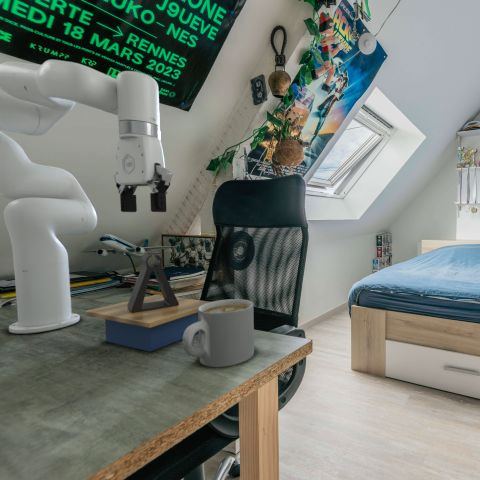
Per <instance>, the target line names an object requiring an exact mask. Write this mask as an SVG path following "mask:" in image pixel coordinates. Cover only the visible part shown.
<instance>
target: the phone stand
mask: <svg viewBox="0 0 480 480" xmlns="http://www.w3.org/2000/svg"><path fill="white" fill-rule="evenodd" d="M152 255H153V256H154V258H155V259H154V261H153V262H152V263H150V264H149V262H148V261H149V259H150V258H151V257H153V256H152ZM140 259H141V268H140V270H139V273H138V276H137V279H136V281H135V284H134V287H133V289H132V292H131V295H130V297H129V299H128V301H129V302H128V305H127V306H128V308H129V309H130V311H131V312H132V313H136V312H142V311H149V310H155V309H156V308H157V309H161V308H167V307H173V306H178V305H179V303H178V301H177V299H176V297H177V296H176V295H175V292H174V290H173V288H172V286H171V284H170V281H169V280H168V277H167V276H166V274H165V271H164V269H163V259H162V257H161V256H160V255H158V254H156V253H155V252H152V251H151V252H150V253H149V252H144V253H143V254H142V255H141V258H140ZM153 272H154V276H155V278H156V280H157V283H158V286H159V289H160V292H161V295H163V298H164V300H162V301H155V302H148V303H143V301H144V297H146V293H147V289H148V286H149V282H150V278H151V274H152V273H153Z"/></svg>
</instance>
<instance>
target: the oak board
mask: <svg viewBox="0 0 480 480" xmlns="http://www.w3.org/2000/svg"><path fill="white" fill-rule="evenodd" d="M176 299H177V301H178V303H179V305H178V306H173V307H167V308H161V309H157V308H156V309H155V310H149V311H142V312H136V313H132V312H131V311H130V309H129V308H128V306H127V305H128V302H129V300H127V301H122V302H119V303H118V302H117V303H115V304H110V305H105V306H102V307H101V306H100V307H96V308H94V309H89V310H85V317H91V318H97V319H101V320H105V319H106V320H112V321H117V322H122V323H127V324H132V325H138V326H143V327H148V328H151V327H154V326H157V325H160V324H163V323H166V322H169V321H172V320H175V319H178V318H181V317H185V316H188V315H191V314H194V313H197V312H198V308H199V307H200V306H202V305H204V304H206V303H210V302H211V301H209V300H208V301H206V300H201V299H192V298H185V297H178V296H176ZM162 300H164V298H163V295H162V294H153V295H149V296H145V297H144V301H143V303H148V302H155V301H162Z"/></svg>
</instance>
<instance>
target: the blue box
mask: <svg viewBox="0 0 480 480" xmlns="http://www.w3.org/2000/svg"><path fill="white" fill-rule="evenodd" d="M196 322H198V312H197V313H194V314H191V315H188V316H185V317H181V318H178V319H175V320H172V321H169V322H166V323H163V324H160V325H157V326H154V327H151V328H148V327H143V326H138V325H132V324H127V323H122V322H117V321H112V320H106V319H104V324H105V341H106V342H107V343H111V344H115V345H120V346H124V347H128V348H132V349H137V350H141V351H145V352H149V353H150V352H153V351H156V350H159V349H161V348H163V347H166V346H168V345H171V344H173V343H176V342H178V341H181V340H183V334H184V331H185V330H186V328H187V327H188V326H190V325H192V324H193V323H196ZM196 334H199V331H198V332H196V333H195V335H196Z"/></svg>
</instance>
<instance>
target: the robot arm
mask: <svg viewBox="0 0 480 480" xmlns="http://www.w3.org/2000/svg"><path fill="white" fill-rule="evenodd" d="M0 89H1V91H3V92H4V93H6V94H7V95H4V94H2V93H0V196H1V197H3V198H5V199H8V200H12V201H10V202H9V203H8V204H7V205H6V206H5V208H4V211H3V221H4V224H5V226H6V230H7V233H8V234H9V239H10V243H11V249H12V260H13V269H14V271H13V272H14V284H15V298H16V311H17V312H16V313H17V321H16V322H14V323H11V324H10V325H9V326H8V332H9V333H12V334H20V335H21V334H22V335H23V334H25V335H26V334H36V333H42V332H49V331H54V330H59V329H62V328H66V327H69V326H72V325H75V324H76V323H78V322H79V321H80V320H81V315H80V314H78V313H75V312H74V313H73V312H72V300H71V299H72V297H71V279H70V265H69V255H68V254H69V253H68V251H67V249H66V247H65V246H64V245H63V243H62V242H61V241H60V240H59V239H58V237H64V236H65V237H66V236H67V237H68V236H80V235H81V236H82V235H86V234H89V233H92V232H93V231H94V230H95V229H96V227H97V224H98V214H97V211H96V209H95V207H94V205H93V204H92V202H91V200H90V198H89V197H88V195H87V194H86V192H85V191H84V189H83V188H82V185H81V184H80V183H79V181H78V180H77V178H76V177H75V176H74V175H73V174H72V173H71V172H69V171H68V170H66V169H64V168H61V167H59V166H52V165H46V164H45V165H44V164H38V163H36V162H33V161H31V159H30V158H29V157H28V155H27V154H26V152H25V151H24V149H23V148H22V146H21V145H20V144H19V143H18V142H16V140H14V139H13V138H12V137H10V136H9V135H7V134H6V133H5V132H3V131H7V132H12V133H17V134H21V135H27V136H35V137H37V136H42V135H45V134H47V133H49V131H51V129H53V128H54V127H55V126H57V124H59V122H61V121H62V120H63V119H64V118H65V117H66V116H67V115H68V114H69V113H70V112H71V111H72V110H73V109H74V107H75V106H76V104H77V103H78V104H81V105H84V106H88V107H91V108H94V109H97V110H100V111H103V112H105V113H108V114H112V115H115V116H117V117H118V118H117V119H118V137H119V138H118V140H117V144H116V154H115V174H114V175H113V179H114V181H115V187H116V188H117V191H118V194H119V197H120V198H119V199H120V204H119V205H120V212H121V213H136V212H137V211H138V207H137V205H138V204H137V194H135V192H136V190H137V188H138V187H149V189H150V190H151V192H150V193H149V197H150V198H149V199H150V212H152V213H167V194H168V193H169V190H168V189H169V188H170V186H171V182H172V177H173V172H172V171H171V170H169V169H167V168H166V163H165V155H164V150H163V145H162V141H161V140H162V139H161V121H160V120H161V119H160V116H161V115H160V98H159V97H160V91H159V84H158V82H157V81H156V79H154V78H153V77H152V76H150V75H148V74H145V73H143V72H140V71H134V70H124V71H123V70H122V71H120V72H119V73H118V74H117V76H116V78H115V77H112V76H110V75H108V74H106V73H104V72H101V71H99V70H96V69H94V68H92V67H90V66H87V65H84V64H81V63H78V62H74V61H67V60H60V59H47V60H45V61H44V62H42V64H37V63H30V62H24V61H4V62H2V63H0ZM8 95H9V96H8ZM1 130H3V131H1Z"/></svg>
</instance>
